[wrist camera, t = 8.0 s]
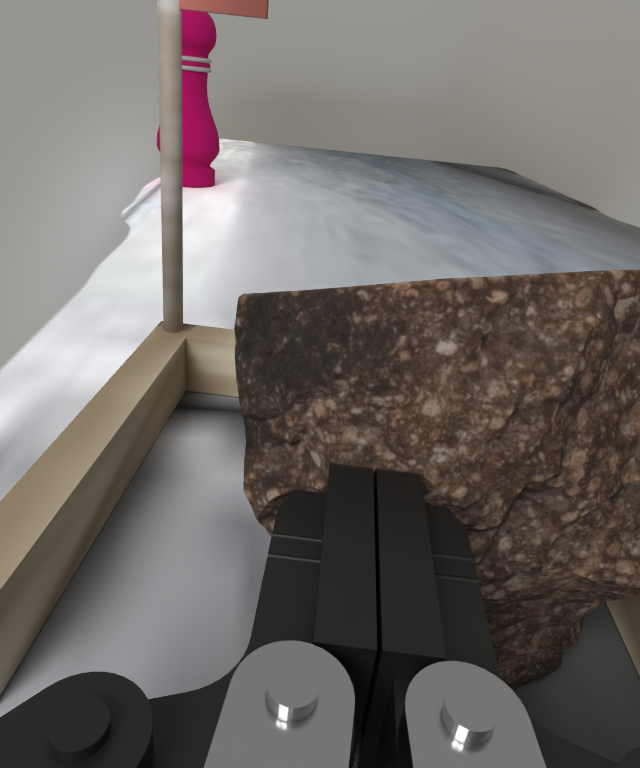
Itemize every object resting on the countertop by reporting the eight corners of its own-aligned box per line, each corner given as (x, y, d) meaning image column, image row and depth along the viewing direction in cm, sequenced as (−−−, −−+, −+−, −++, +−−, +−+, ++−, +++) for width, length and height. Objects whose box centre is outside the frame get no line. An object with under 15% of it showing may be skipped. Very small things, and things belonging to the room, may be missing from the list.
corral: (554, 420, 27) (692, -11, 20) (772, 817, 12) (1645, -299, 5) (162, 371, 28) (153, -69, 20) (-77, 700, 13) (-442, -491, 5)
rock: (375, 318, 23) (668, 207, 18) (457, 581, 22) (782, 544, 17) (118, 326, 12) (679, 49, 7) (265, 836, 11) (984, 935, 6)
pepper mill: (185, 190, 68) (185, -19, 59) (144, 179, 72) (138, -20, 63) (231, 186, 73) (237, -7, 64) (191, 176, 77) (191, -8, 68)
